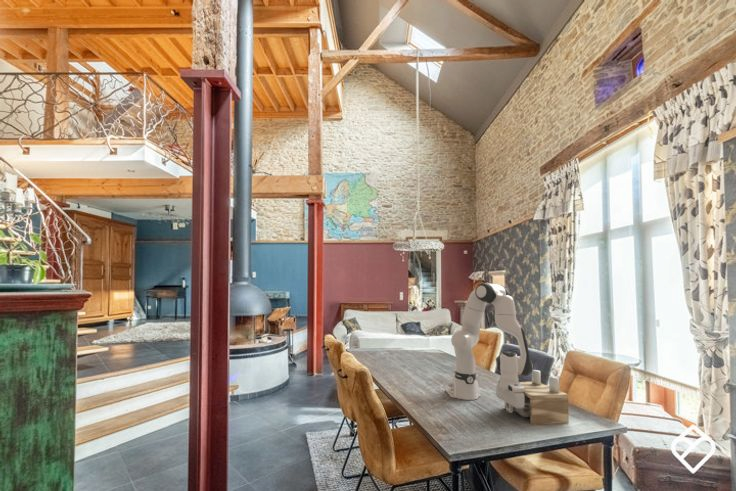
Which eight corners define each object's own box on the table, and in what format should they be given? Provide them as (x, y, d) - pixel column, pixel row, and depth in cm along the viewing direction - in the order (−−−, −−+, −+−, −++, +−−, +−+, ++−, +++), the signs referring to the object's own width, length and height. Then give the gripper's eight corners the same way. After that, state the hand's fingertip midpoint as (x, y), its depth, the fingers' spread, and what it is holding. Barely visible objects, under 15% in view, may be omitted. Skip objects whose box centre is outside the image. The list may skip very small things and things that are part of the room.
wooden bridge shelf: (504, 408, 206) (504, 382, 207) (537, 406, 210) (536, 381, 211) (532, 424, 182) (532, 395, 184) (568, 422, 187) (568, 394, 188)
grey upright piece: (547, 390, 194) (547, 376, 194) (554, 390, 194) (554, 376, 195) (553, 393, 189) (552, 378, 190) (560, 392, 190) (560, 378, 191)
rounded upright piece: (530, 383, 207) (529, 369, 208) (537, 382, 208) (537, 369, 209) (535, 385, 203) (535, 371, 204) (542, 385, 204) (542, 371, 204)
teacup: (529, 410, 203) (529, 395, 203) (544, 419, 190) (544, 402, 191) (503, 411, 200) (503, 396, 201) (517, 420, 188) (517, 403, 188)
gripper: (493, 379, 204) (493, 405, 203) (515, 389, 184) (515, 419, 183) (503, 378, 205) (503, 405, 204) (526, 389, 186) (527, 418, 184)
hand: (509, 412), depth 193 cm, fingers closed
